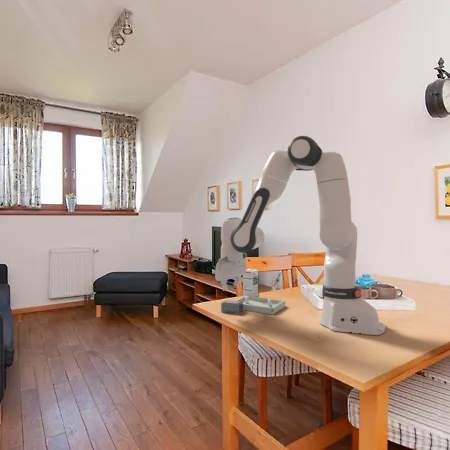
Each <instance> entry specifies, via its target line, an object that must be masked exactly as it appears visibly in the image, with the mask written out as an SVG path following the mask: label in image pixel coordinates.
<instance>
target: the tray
mask: <svg viewBox="0 0 450 450" xmlns="http://www.w3.org/2000/svg"><path fill="white" fill-rule="evenodd" d="M234 301H240V302H243V311H246V312H255V313H261V314H268V315H274V314H277V312H279V311H280V310H282V309H284V308H285V307H286V300H282V299H276V298H268V297H260V296H259V297H252V296H244V297H243V296H242V297H239V298H238V299H235V300H234Z"/></svg>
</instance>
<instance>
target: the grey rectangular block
mask: <svg viewBox="0 0 450 450" xmlns="http://www.w3.org/2000/svg"><path fill="white" fill-rule="evenodd" d="M220 304H221V305H220V306H221V307H220V310H221V311H220V312H221V313H226V314H227V313H229V314H236V315H237V314H238V315H239V314H241V313H242V312H243V311H244V310H243V302H240V301H235V300H229V299H228V300H224V301H222V302H221V303H220Z"/></svg>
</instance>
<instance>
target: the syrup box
mask: <svg viewBox="0 0 450 450" xmlns="http://www.w3.org/2000/svg"><path fill="white" fill-rule="evenodd" d="M259 286H260V285H259V269H256V268H248V269H246V271H245V274H243V275H242V297H244V296H252V297H260V290H259V289H260V287H259Z"/></svg>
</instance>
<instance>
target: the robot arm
mask: <svg viewBox="0 0 450 450" xmlns="http://www.w3.org/2000/svg"><path fill="white" fill-rule="evenodd" d="M293 171H303V172H304V171H305V172H308V171H314V173H315V177H316V178H315V179H316V186H317V187H316V188H317V194H318V202H319V239H320V241H321V243H322V244H323V245H324V246H325V247H326V250H325V257H324V262H323V285H322V287H321V288H322V300H323V301H322V308H321V314H320V318H319V320H318V321H319V323H320V325H322V326H324V327H326V328H328V329H329V330H330V331H333V332H341V333H349V332H352V333H351V334H359V333H361V335H369V336H370V335H371V336H379V335H382V334H384V333H385V332H386V329H387V326H386V324H385V323H384V322H383V321H381V320H380V319H379V313H378V311H377V310H376V308H375V307H374V306H373V305H372V304H370V303H369V302H367V301H366V300H365V298H364V299H363V298H362V288H361V287H360V288H359V287H358V286H356V261H357V250H358V249H357V248H358V228H357V226H356V225H355V223H354V222H352V211H351V210H352V209H351V208H352V207H351V205H352V204H351V201H352V200H351V194H350V193H351V192H350V185H349V179H348V173H347V168H346V164H345V162H344V158H343V156H342V155H341V154H340V153H338V152H336V151H328V152H327V151H326V152H324V151H323V150H322V148H321V147H320V146H319V145H318V143H317V142H316V140H314V139H313V138H311V137H310V136H307V135H300V136H296V137H294V138H293V139H292V140H291V141H290V142H289V144H288V147H287V151H286V150H284V149H283V150H281V149H278V150H275V151H273V152H271V154H270V155H269V157H268V158H267V160H266V162H265V164H264V166H263V168H262V171H261V174H260V177H259V178H258V179H259V180H258V182H257V185H256V188H255V190H254V192H253V194H252V197H251V199H250V201H249V204H248V205H247V208H246V211H244V214H243V217H242V219H241V218H240V217H230V218H225V219H224V220H223V221H222V223H221V228H220V241H221V246H220V258H219V259H218V260H217V263H216V264H215V265H216V266H215V273H214V274H215V275H214V276H215V277H214V278H215V280H216V281H217V282H220V285H221V286H222V291H223V292H224V291H225V292H226V291H228V289H229V286H228V285H227V283H228V280H231V279H234V278H235V279H234V281H233V287H238V286H239V285H240V284H239V283H240V280H241V276H243V274H245V271H246V270H247V269H246V268H247V261H246V259H247V256H248V255H247V253H248V252H250V251H252V250H255V249H256V248H259V247H260V246H262V245H263V243H264V241H265V234H264V231H263V230H262V229H261V228H260V227H258V226H259V223H260V221H261V219H262V217H263V215H264V212H265V211H266V209H267V208H268V207H269V205H271V204H272V203H273V202H275V201H277V200H279V199H280V197H281V196H282V195H283V193H284V191H285V189H286V187H287V184H288V183H289V179H290V178H291V175H292V173H293Z"/></svg>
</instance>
